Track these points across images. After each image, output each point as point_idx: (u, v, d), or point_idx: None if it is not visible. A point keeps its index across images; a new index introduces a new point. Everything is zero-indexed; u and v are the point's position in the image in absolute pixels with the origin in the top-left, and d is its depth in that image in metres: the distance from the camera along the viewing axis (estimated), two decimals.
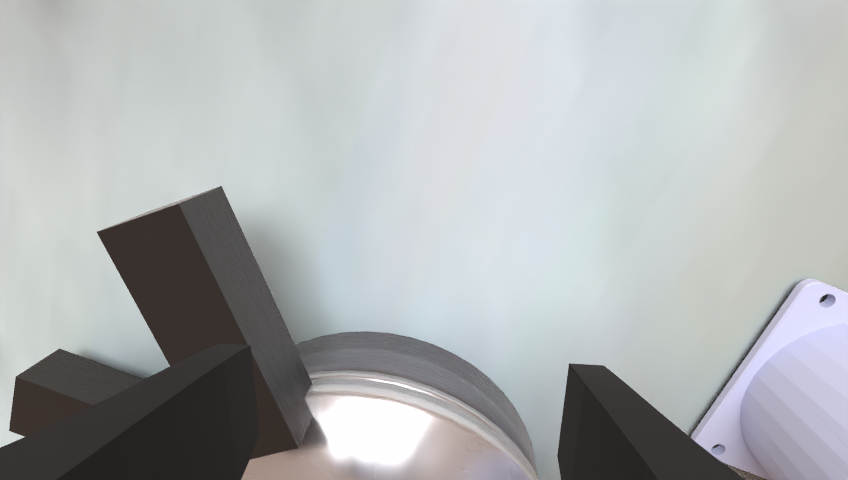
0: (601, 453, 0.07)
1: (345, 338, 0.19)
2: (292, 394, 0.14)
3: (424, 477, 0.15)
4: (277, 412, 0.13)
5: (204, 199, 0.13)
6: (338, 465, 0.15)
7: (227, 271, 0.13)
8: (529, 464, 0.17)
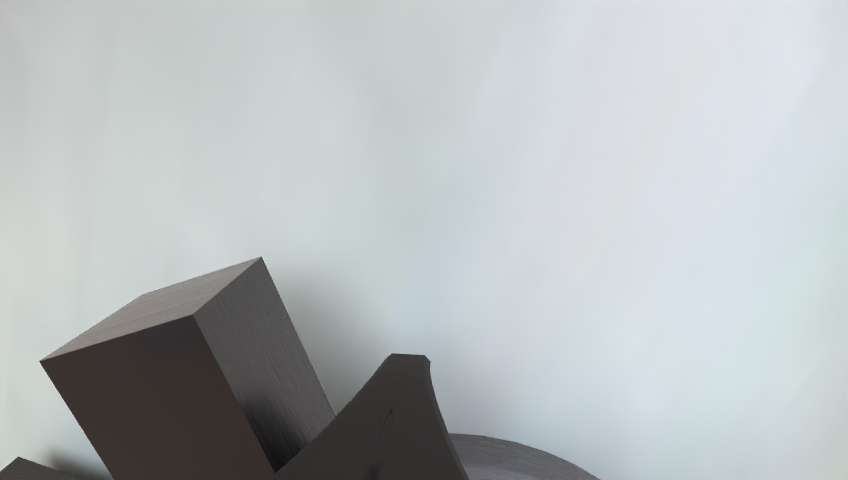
0: None
1: None
2: None
3: None
4: None
5: (237, 290, 0.07)
6: None
7: (278, 417, 0.07)
8: None
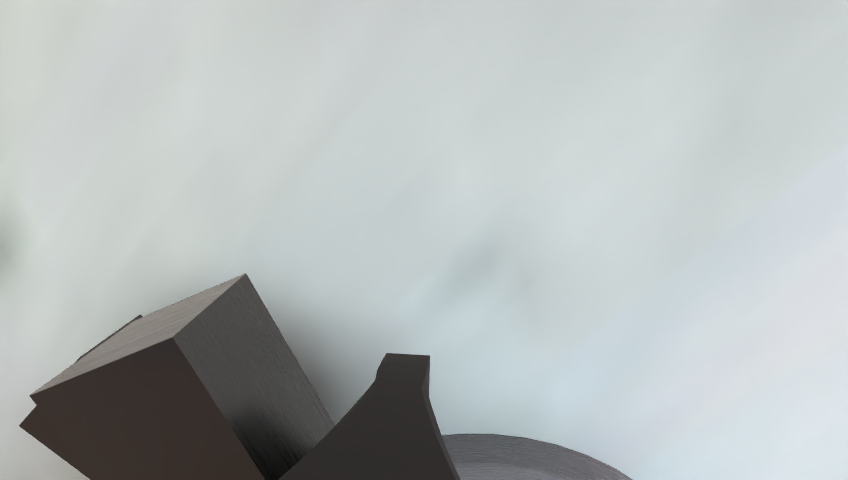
0: None
1: (567, 461, 0.13)
2: None
3: None
4: None
5: (220, 309, 0.07)
6: None
7: (271, 432, 0.07)
8: None
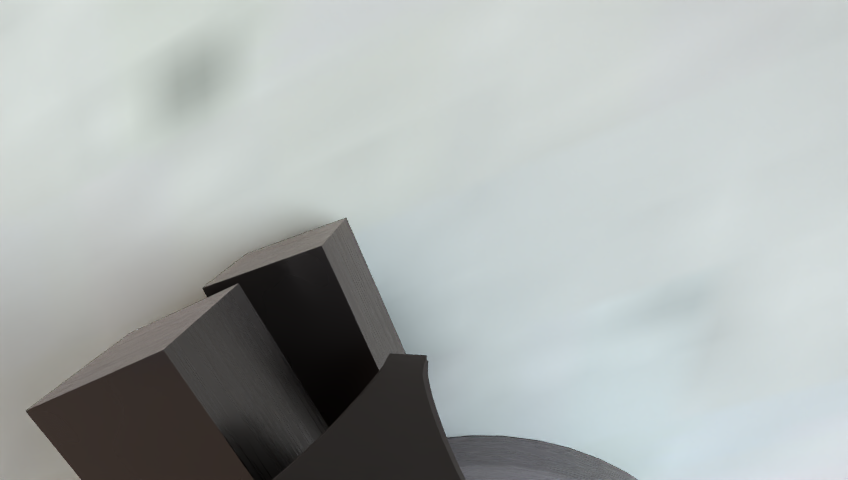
0: None
1: None
2: None
3: None
4: None
5: (212, 320, 0.07)
6: None
7: (266, 441, 0.07)
8: None
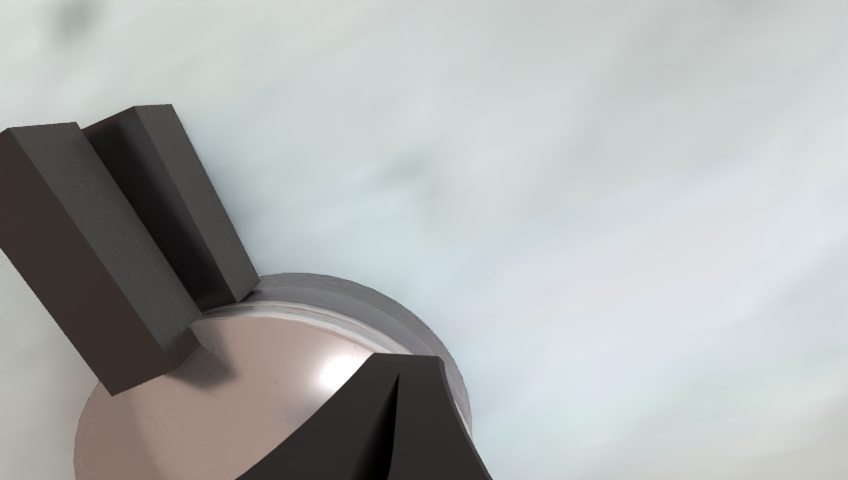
0: None
1: (413, 321, 0.19)
2: (170, 320, 0.14)
3: (321, 396, 0.15)
4: (148, 333, 0.13)
5: (48, 129, 0.13)
6: (236, 393, 0.16)
7: (78, 197, 0.13)
8: None
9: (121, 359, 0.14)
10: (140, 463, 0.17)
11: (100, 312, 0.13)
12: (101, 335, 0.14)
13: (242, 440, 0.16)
